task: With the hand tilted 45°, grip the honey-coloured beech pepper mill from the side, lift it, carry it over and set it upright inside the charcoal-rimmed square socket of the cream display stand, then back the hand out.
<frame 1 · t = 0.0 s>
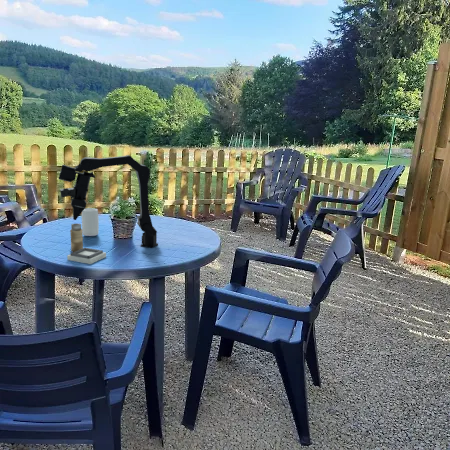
hand: (74, 217, 194), 15 cm above the table, tool pointing down, fingers open, 9 cm apart
display stand: (87, 258, 187), on the table
pepper mill: (77, 250, 197), on the table
cup: (90, 236, 221), on the table
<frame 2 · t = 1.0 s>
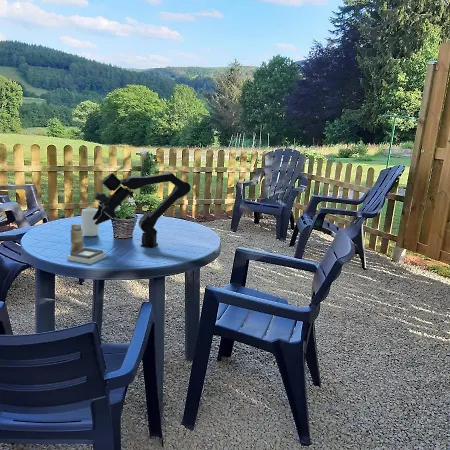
hand: (94, 221, 196), 13 cm above the table, tool tilted 45°, fingers open, 9 cm apart
nothing on the table moved.
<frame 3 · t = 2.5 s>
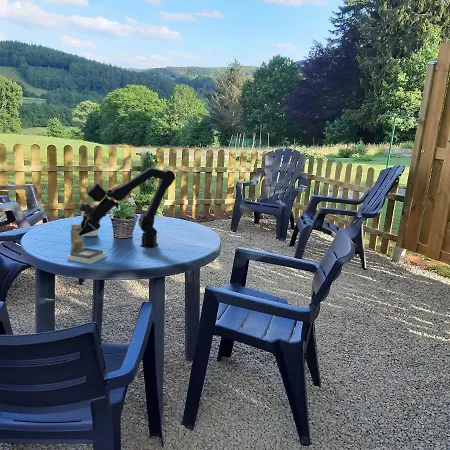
hand: (78, 232, 195), 9 cm above the table, tool tilted 45°, fingers open, 9 cm apart
nothing on the table moved.
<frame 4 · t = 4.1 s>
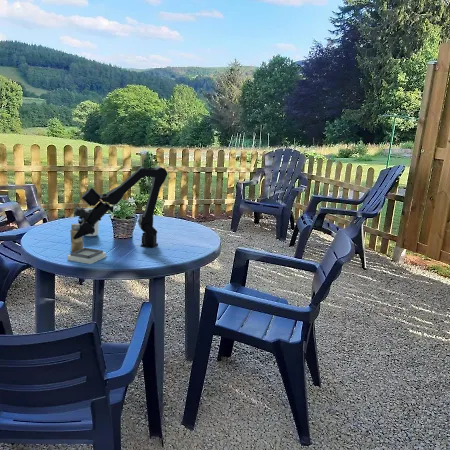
hand: (73, 237, 195), 7 cm above the table, tool tilted 45°, fingers closed on pepper mill, 5 cm apart
pepper mill: (77, 250, 197), on the table, touching gripper
everything else where it was.
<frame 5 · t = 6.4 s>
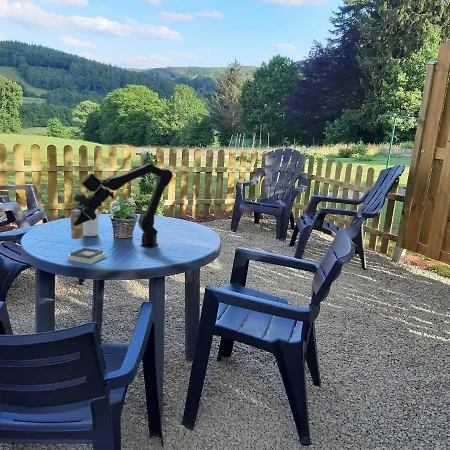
hand: (73, 223, 191), 13 cm above the table, tool tilted 45°, fingers closed on pepper mill, 5 cm apart
pepper mill: (77, 237, 193), point 7 cm above the table, touching gripper
everything else where it was.
when the fingers open (10 cm above the table, at t = 8.9 s): pepper mill drops 1 cm, resting on display stand.
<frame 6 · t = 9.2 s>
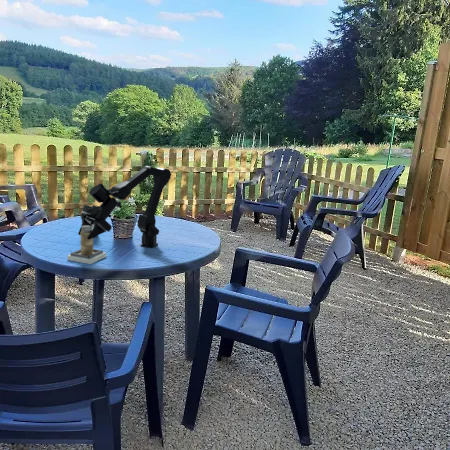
hand: (83, 236, 183), 10 cm above the table, tool tilted 45°, fingers open, 8 cm apart
pepper mill: (87, 253, 186), point 2 cm above the table, touching display stand
everything else where it was.
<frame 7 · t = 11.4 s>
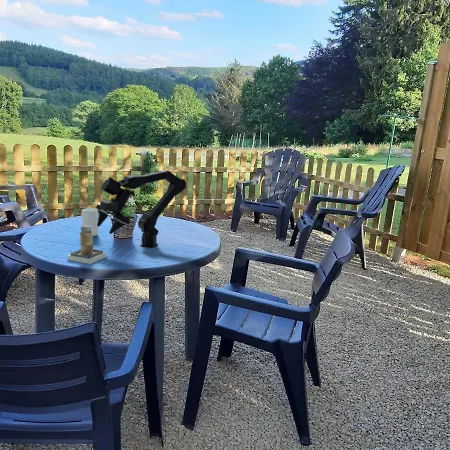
hand: (103, 229, 194), 10 cm above the table, tool tilted 30°, fingers open, 9 cm apart
nothing on the table moved.
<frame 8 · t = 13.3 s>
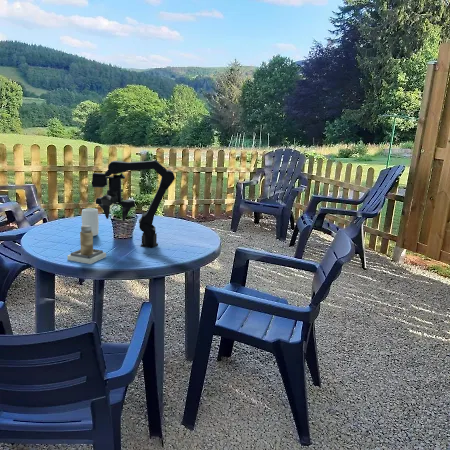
hand: (115, 219, 204), 13 cm above the table, tool pointing down, fingers open, 9 cm apart
nothing on the table moved.
at the end: pepper mill 0.1 cm off-centre on the display stand, point 2.0 cm above the display stand's base; pepper mill tilted 1°; the gripper is holding nothing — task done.
